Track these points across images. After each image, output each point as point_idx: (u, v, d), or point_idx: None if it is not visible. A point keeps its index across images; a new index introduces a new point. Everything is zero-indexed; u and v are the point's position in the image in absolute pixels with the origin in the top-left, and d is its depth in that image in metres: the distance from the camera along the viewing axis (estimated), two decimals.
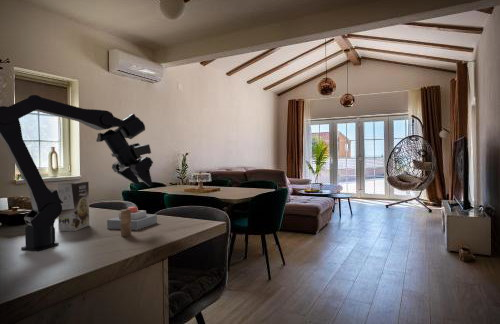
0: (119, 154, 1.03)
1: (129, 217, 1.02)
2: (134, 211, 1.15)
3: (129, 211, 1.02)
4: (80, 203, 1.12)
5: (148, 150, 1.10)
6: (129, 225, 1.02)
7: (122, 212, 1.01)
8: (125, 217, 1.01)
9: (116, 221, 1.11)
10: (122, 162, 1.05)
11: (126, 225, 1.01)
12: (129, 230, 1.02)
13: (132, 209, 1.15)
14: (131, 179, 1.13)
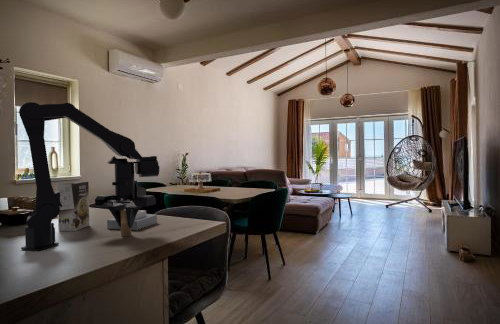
0: (126, 183, 0.99)
1: None
2: None
3: None
4: (80, 203, 1.12)
5: (144, 194, 1.08)
6: None
7: (122, 212, 1.01)
8: (125, 217, 1.01)
9: (116, 221, 1.11)
10: (123, 193, 0.99)
11: (126, 225, 1.01)
12: (129, 230, 1.02)
13: None
14: (118, 218, 1.02)
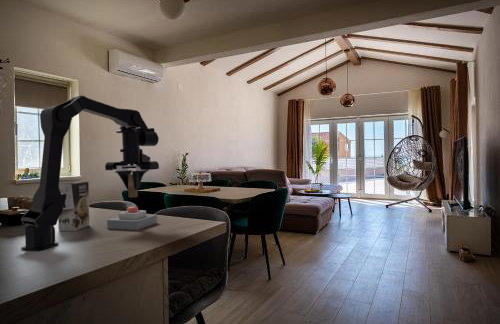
0: (132, 150, 1.12)
1: None
2: (134, 211, 1.15)
3: None
4: (80, 203, 1.12)
5: (148, 161, 1.21)
6: None
7: (129, 176, 1.14)
8: (132, 180, 1.14)
9: (116, 221, 1.11)
10: (130, 159, 1.13)
11: (133, 187, 1.15)
12: (135, 192, 1.15)
13: (132, 209, 1.15)
14: (126, 182, 1.15)
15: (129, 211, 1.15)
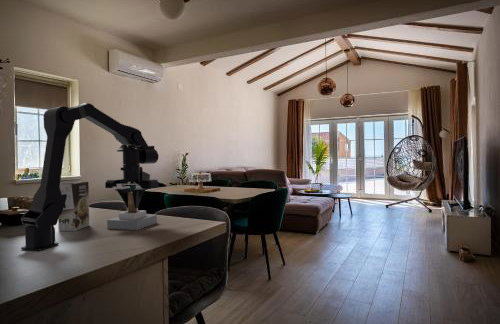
0: (133, 168, 1.13)
1: None
2: None
3: None
4: (80, 203, 1.12)
5: (148, 179, 1.22)
6: None
7: (129, 194, 1.15)
8: (132, 198, 1.15)
9: (116, 221, 1.11)
10: (130, 177, 1.14)
11: (132, 205, 1.15)
12: (135, 210, 1.16)
13: None
14: (126, 199, 1.16)
15: None
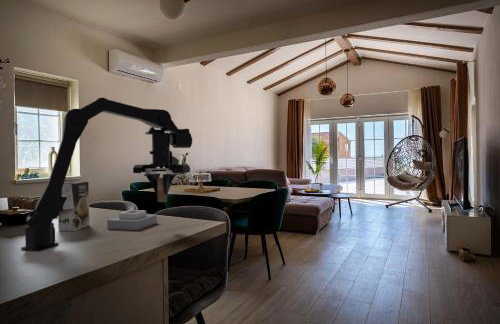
0: (163, 152, 1.06)
1: None
2: None
3: None
4: (80, 203, 1.12)
5: (177, 164, 1.15)
6: None
7: (159, 179, 1.08)
8: (162, 184, 1.08)
9: (116, 221, 1.11)
10: (160, 161, 1.07)
11: (162, 191, 1.08)
12: (165, 196, 1.09)
13: None
14: (155, 185, 1.09)
15: None
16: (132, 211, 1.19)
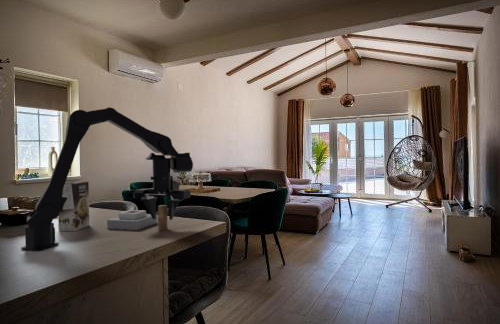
0: (164, 178, 1.07)
1: (166, 212, 1.09)
2: None
3: (166, 207, 1.09)
4: (80, 203, 1.12)
5: (178, 188, 1.15)
6: (166, 220, 1.09)
7: (160, 207, 1.08)
8: (162, 212, 1.08)
9: (116, 221, 1.11)
10: (161, 187, 1.07)
11: (163, 220, 1.08)
12: (166, 224, 1.09)
13: None
14: (152, 210, 1.10)
15: None
16: (132, 211, 1.19)
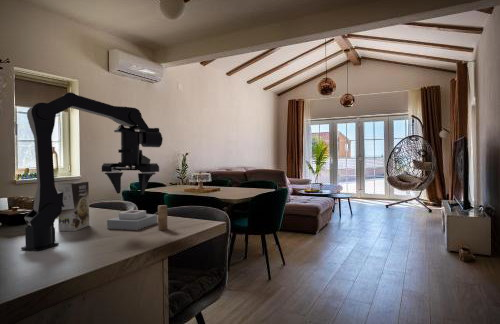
0: (132, 151, 1.05)
1: (166, 212, 1.09)
2: None
3: (166, 207, 1.09)
4: (80, 203, 1.12)
5: None
6: (166, 220, 1.09)
7: (160, 207, 1.08)
8: (162, 212, 1.08)
9: (116, 221, 1.11)
10: (128, 160, 1.05)
11: (163, 220, 1.09)
12: (166, 224, 1.09)
13: None
14: (116, 184, 1.08)
15: None
16: (132, 211, 1.19)
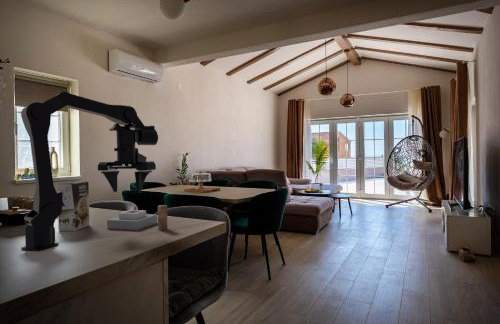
0: (127, 149, 1.04)
1: (166, 212, 1.09)
2: None
3: (166, 207, 1.09)
4: (80, 203, 1.12)
5: (144, 162, 1.13)
6: (166, 220, 1.09)
7: (160, 207, 1.08)
8: (162, 212, 1.08)
9: (116, 221, 1.11)
10: (124, 158, 1.05)
11: (163, 220, 1.08)
12: (166, 224, 1.09)
13: None
14: (113, 183, 1.08)
15: None
16: (132, 211, 1.19)
